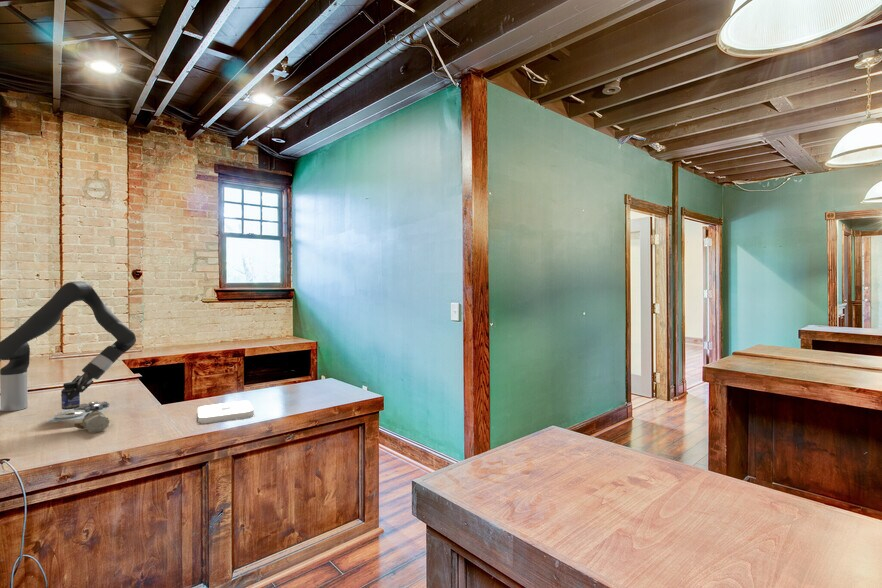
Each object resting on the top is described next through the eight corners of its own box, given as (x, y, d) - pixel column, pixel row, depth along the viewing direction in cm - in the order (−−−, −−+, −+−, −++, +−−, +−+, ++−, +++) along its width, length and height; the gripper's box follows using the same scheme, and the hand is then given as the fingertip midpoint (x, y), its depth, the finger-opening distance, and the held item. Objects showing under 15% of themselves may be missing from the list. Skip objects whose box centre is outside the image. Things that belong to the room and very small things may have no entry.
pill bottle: (69, 410, 185) (68, 384, 185) (57, 409, 187) (57, 384, 186) (83, 406, 191) (82, 381, 191) (72, 405, 193) (71, 381, 192)
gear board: (65, 411, 200) (65, 408, 200) (110, 407, 208) (110, 404, 208) (45, 426, 179) (45, 422, 179) (96, 420, 186) (96, 417, 186)
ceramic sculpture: (82, 414, 166) (72, 410, 175) (82, 436, 165) (73, 431, 175) (115, 408, 174) (104, 404, 183) (116, 429, 174) (105, 425, 183)
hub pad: (59, 414, 191) (59, 411, 191) (88, 411, 196) (88, 408, 196) (51, 420, 182) (51, 417, 182) (81, 417, 187) (81, 414, 187)
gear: (78, 406, 203) (78, 400, 203) (111, 403, 209) (111, 397, 209) (69, 413, 192) (69, 407, 192) (104, 409, 198) (104, 404, 198)
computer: (254, 416, 192) (254, 410, 192) (198, 425, 181) (198, 418, 181) (249, 405, 211) (248, 400, 211) (197, 412, 200) (197, 406, 200)
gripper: (84, 360, 199) (52, 391, 189) (96, 363, 191) (63, 395, 181) (99, 369, 203) (67, 400, 194) (111, 373, 195) (79, 405, 186)
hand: (65, 397), depth 188 cm, fingers closed on pill bottle, 6 cm apart
